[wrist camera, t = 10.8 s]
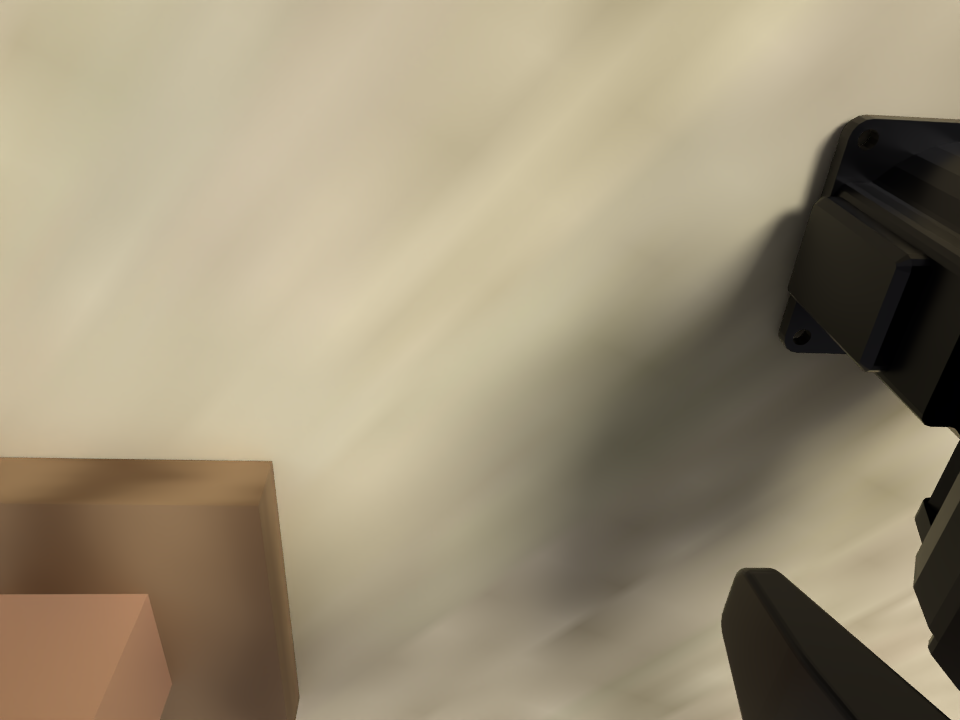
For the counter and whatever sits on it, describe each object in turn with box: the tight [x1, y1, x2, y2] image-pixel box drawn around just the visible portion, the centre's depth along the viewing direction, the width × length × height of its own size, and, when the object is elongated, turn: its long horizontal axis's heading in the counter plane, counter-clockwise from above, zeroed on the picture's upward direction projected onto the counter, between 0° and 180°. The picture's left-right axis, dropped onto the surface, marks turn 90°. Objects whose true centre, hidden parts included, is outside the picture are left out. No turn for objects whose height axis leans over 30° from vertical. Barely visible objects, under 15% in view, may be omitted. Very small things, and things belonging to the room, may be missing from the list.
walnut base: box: [0, 458, 299, 720], centre depth 24 cm, size 12×12×2 cm
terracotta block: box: [0, 594, 172, 720], centre depth 21 cm, size 4×4×5 cm
